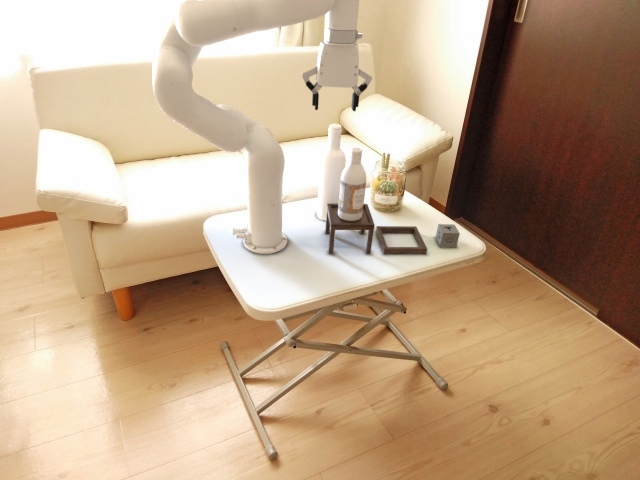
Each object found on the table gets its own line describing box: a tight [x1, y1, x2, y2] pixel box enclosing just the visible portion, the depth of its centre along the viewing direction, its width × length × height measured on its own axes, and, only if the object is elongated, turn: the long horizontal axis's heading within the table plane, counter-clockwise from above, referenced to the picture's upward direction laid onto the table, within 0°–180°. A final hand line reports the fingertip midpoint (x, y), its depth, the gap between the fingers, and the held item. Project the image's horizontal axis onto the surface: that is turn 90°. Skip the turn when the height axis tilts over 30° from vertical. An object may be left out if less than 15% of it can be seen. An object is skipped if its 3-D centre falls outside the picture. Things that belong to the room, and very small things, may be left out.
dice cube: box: [434, 223, 461, 249], centre depth 135 cm, size 5×5×5 cm
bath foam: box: [338, 147, 367, 221], centre depth 124 cm, size 7×7×20 cm
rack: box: [324, 203, 428, 256], centre depth 132 cm, size 28×12×10 cm, turn 95°
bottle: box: [316, 123, 347, 222], centre depth 139 cm, size 8×8×30 cm
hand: (334, 109), depth 116 cm, fingers open, 9 cm apart
